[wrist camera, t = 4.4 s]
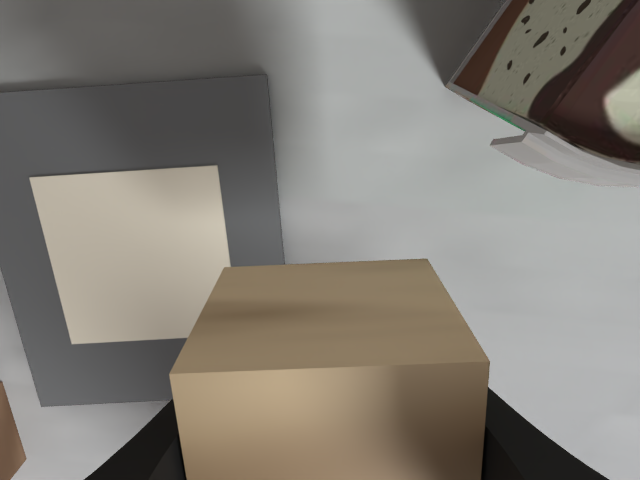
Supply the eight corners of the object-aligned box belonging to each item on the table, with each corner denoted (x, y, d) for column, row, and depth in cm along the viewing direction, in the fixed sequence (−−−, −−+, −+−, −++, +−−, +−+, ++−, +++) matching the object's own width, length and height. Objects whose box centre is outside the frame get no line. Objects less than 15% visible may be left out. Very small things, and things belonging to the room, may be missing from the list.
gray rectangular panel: (296, 389, 22) (295, 394, 22) (44, 402, 23) (40, 408, 22) (266, 74, 18) (265, 74, 18) (-44, 95, 18) (-52, 96, 18)
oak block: (422, 426, 15) (472, 591, 10) (243, 433, 15) (207, 600, 10) (427, 258, 13) (489, 361, 8) (223, 267, 13) (168, 374, 8)
